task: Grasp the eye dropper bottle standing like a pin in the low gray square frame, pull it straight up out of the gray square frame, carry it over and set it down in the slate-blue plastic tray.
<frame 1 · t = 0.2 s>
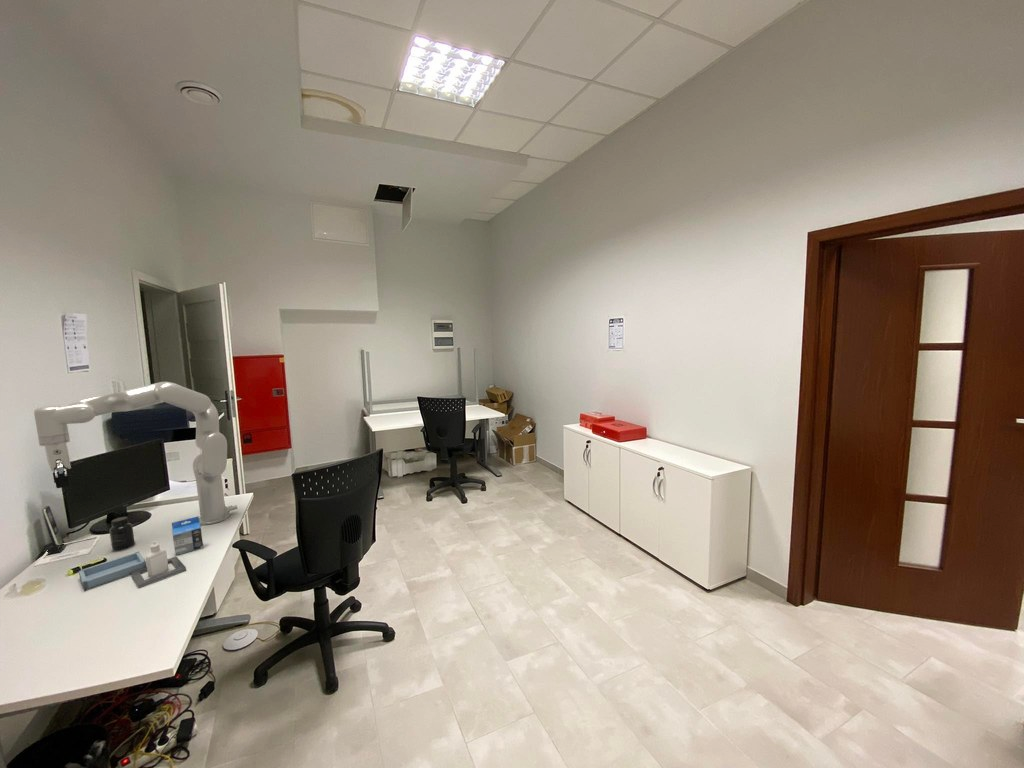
hand: (61, 484, 152), 31 cm above the table, fingers open, 9 cm apart
eye dropper bottle: (158, 573, 147), resting in gray square frame
gray square frame: (158, 572, 147), on the table
label tape box: (189, 550, 163), on the table
tray: (114, 573, 147), on the table
photo frame: (70, 552, 165), on the table
supplement bottle: (123, 547, 167), on the table
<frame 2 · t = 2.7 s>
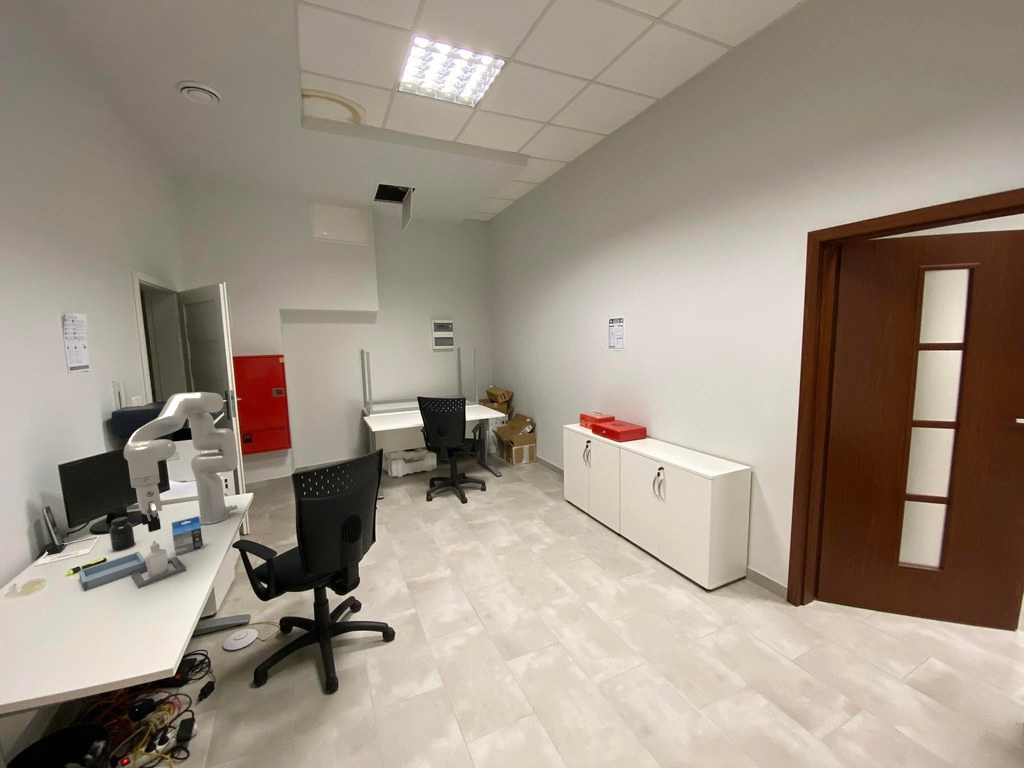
hand: (151, 526, 144), 18 cm above the table, fingers open, 9 cm apart
nothing on the table moved.
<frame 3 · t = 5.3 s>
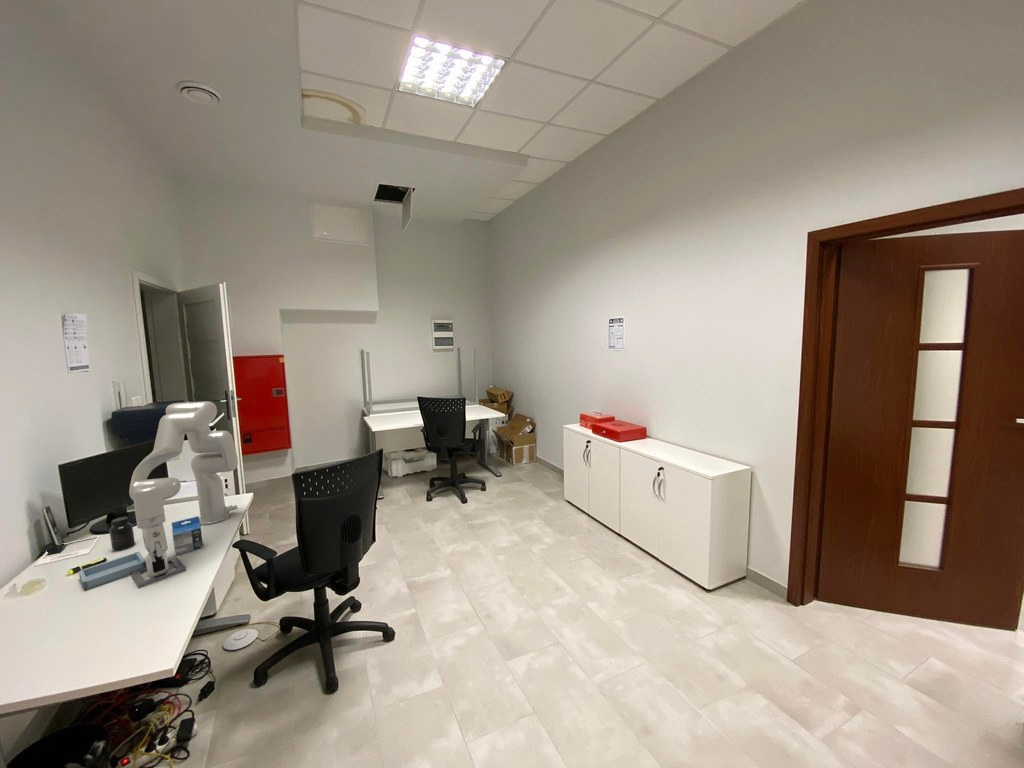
hand: (157, 568, 147), 2 cm above the table, fingers closed on eye dropper bottle, 3 cm apart
eye dropper bottle: (158, 573, 147), resting in gray square frame, touching gripper
everything else where it was.
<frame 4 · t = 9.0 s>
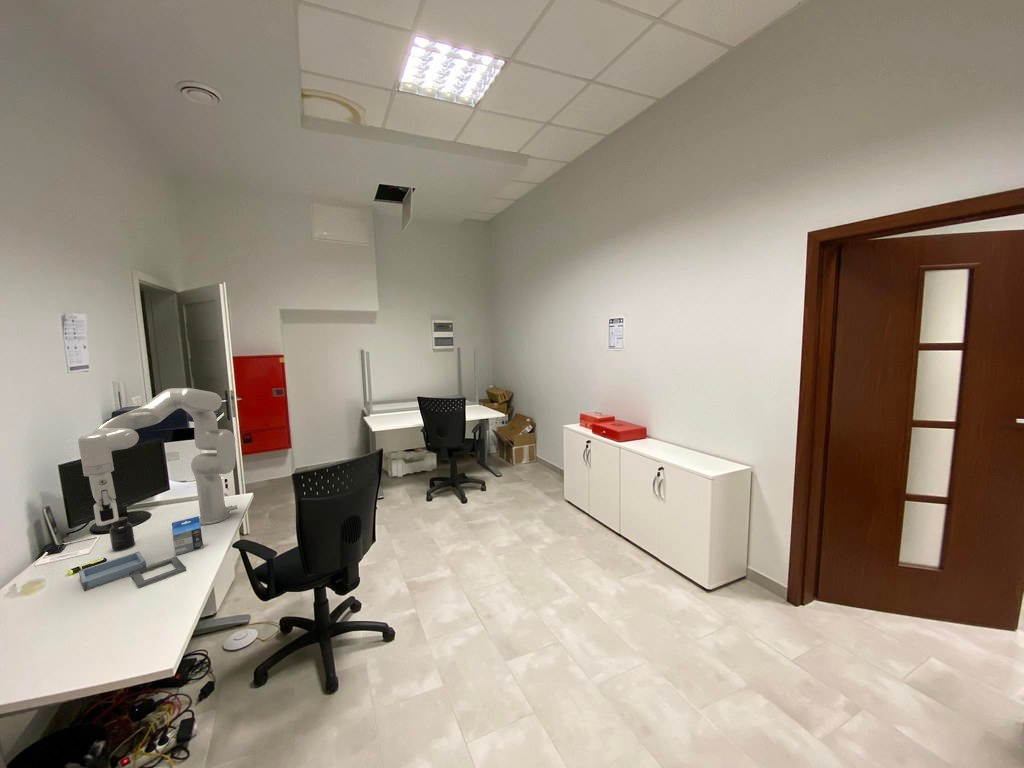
hand: (106, 518, 145), 21 cm above the table, fingers closed on eye dropper bottle, 3 cm apart
eye dropper bottle: (108, 523, 145), point 19 cm above the table, touching gripper
everything else where it was.
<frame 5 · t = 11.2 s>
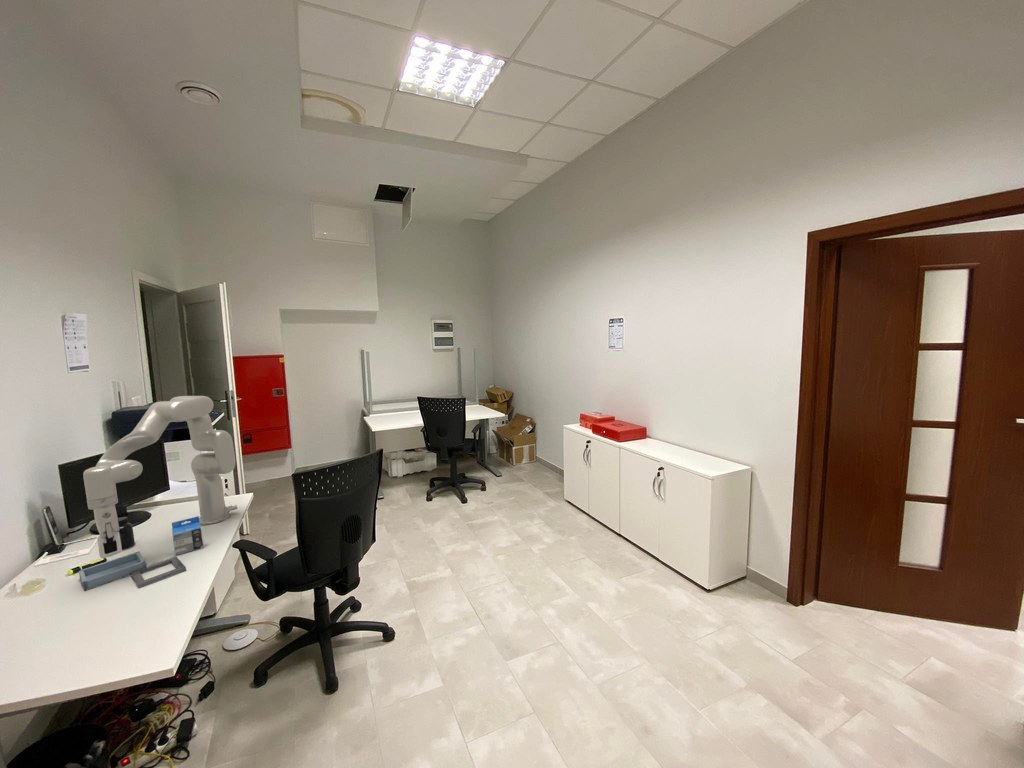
hand: (110, 549, 146), 9 cm above the table, fingers closed on eye dropper bottle, 3 cm apart
eye dropper bottle: (111, 555, 146), point 7 cm above the table, touching gripper
everything else where it was.
when the fingers open (4 cm above the table, at t = 13.0 s): eye dropper bottle drops 1 cm, resting on tray.
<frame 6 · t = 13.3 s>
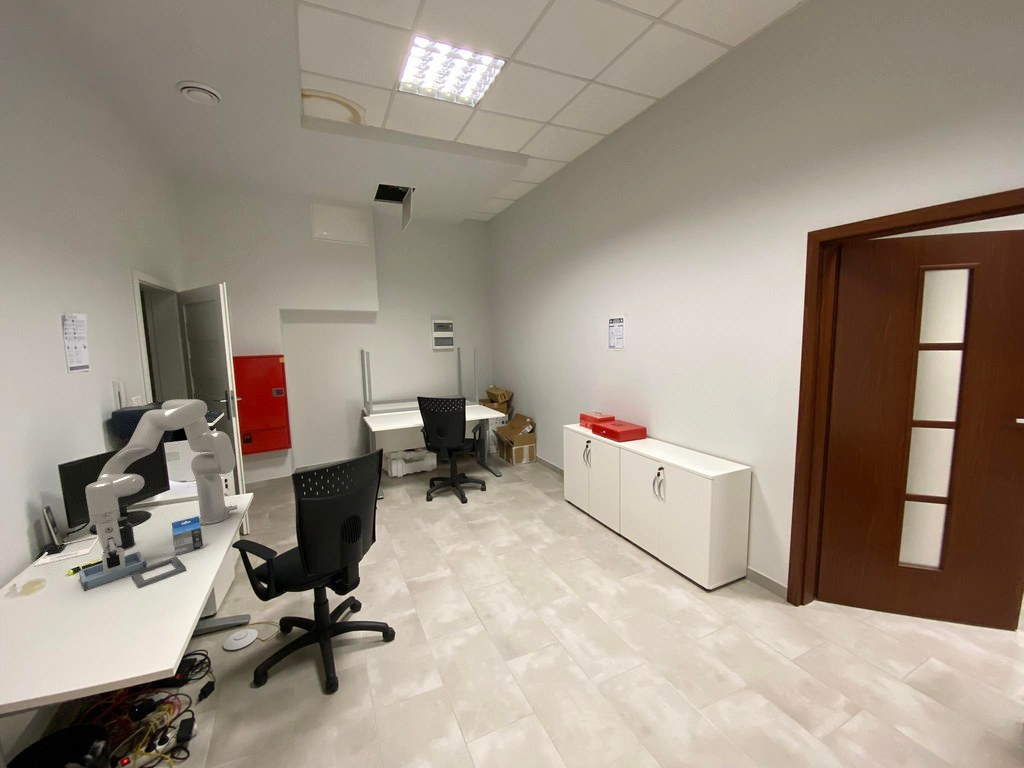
hand: (112, 563, 147), 4 cm above the table, fingers open, 6 cm apart
eye dropper bottle: (115, 571, 147), point 1 cm above the table, touching tray
everything else where it was.
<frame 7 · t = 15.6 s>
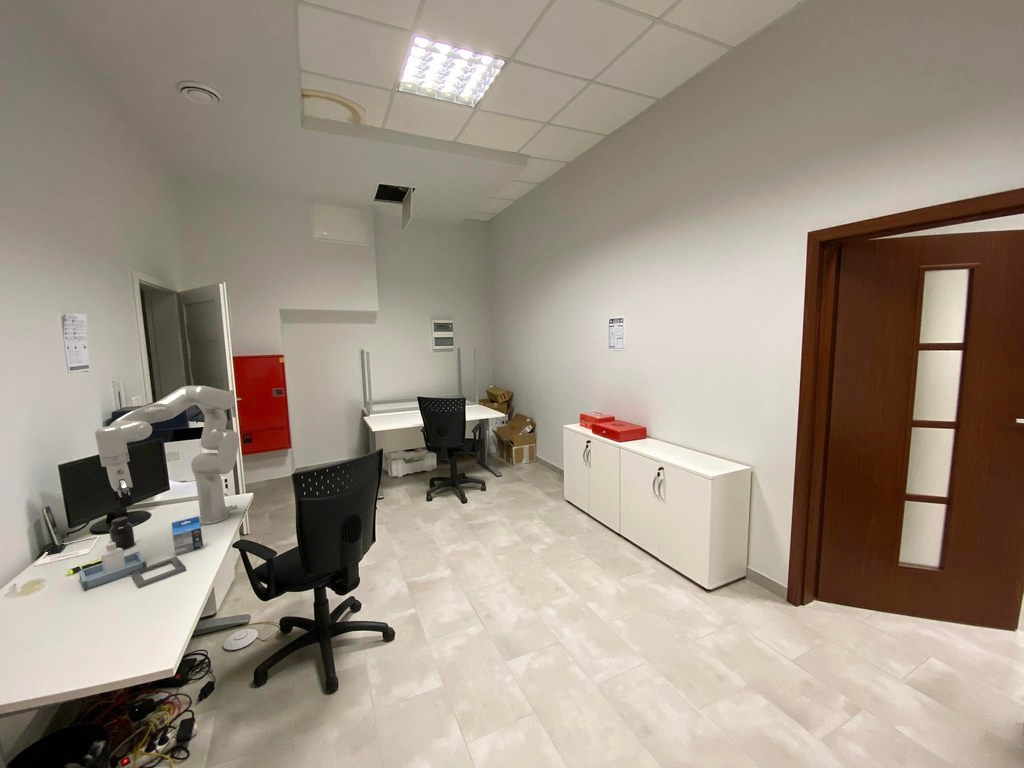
hand: (123, 502, 153), 23 cm above the table, fingers open, 9 cm apart
nothing on the table moved.
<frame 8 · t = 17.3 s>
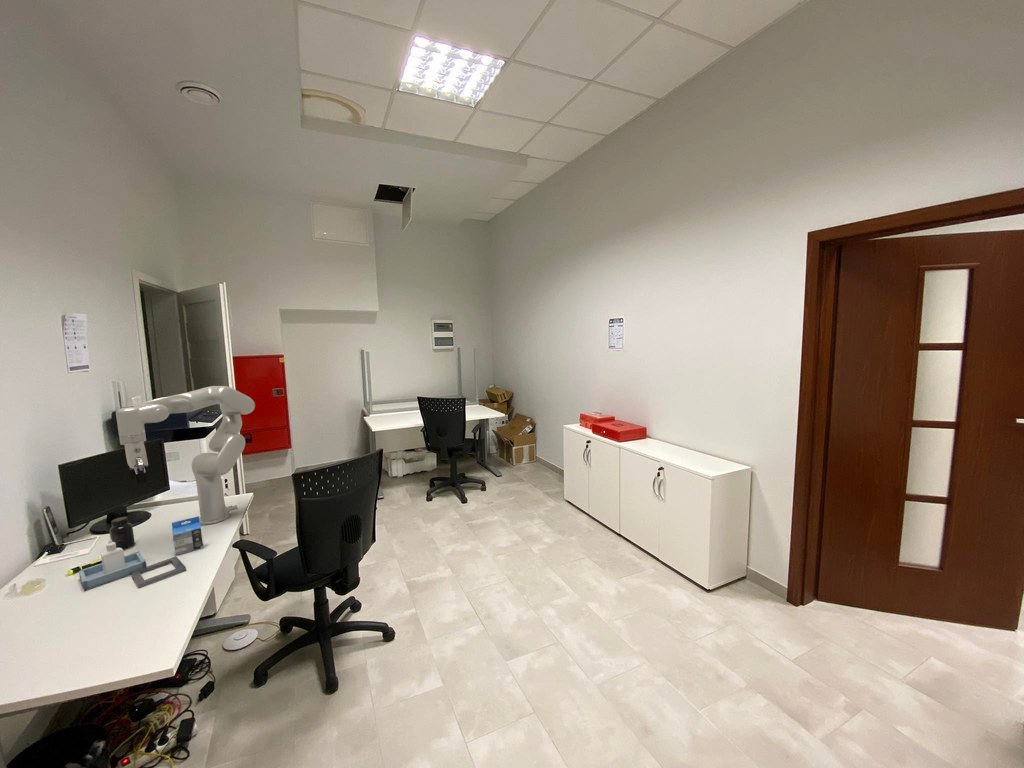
hand: (139, 480, 162), 28 cm above the table, fingers open, 9 cm apart
nothing on the table moved.
at the end: eye dropper bottle inside the target area on the tray (0.4 cm from its centre), point 0.4 cm above the tray's base; the gripper is holding nothing; eye dropper bottle moved 16.3 cm from its start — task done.
